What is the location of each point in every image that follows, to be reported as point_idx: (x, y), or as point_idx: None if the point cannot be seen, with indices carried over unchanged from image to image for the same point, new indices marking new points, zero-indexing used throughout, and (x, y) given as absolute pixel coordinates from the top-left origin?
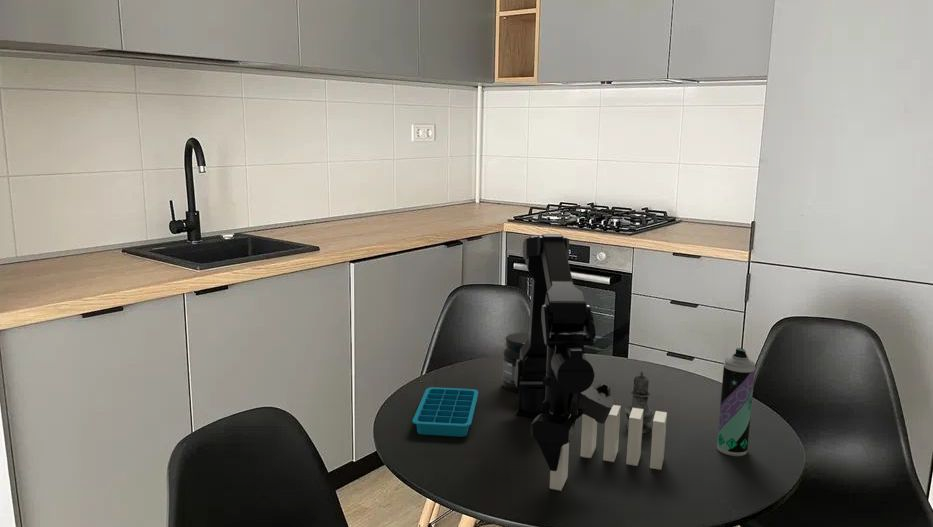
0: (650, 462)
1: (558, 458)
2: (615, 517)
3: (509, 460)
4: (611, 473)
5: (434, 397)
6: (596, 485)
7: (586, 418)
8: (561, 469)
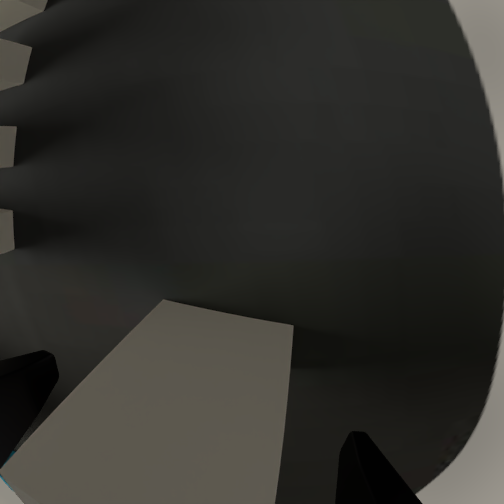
0: (31, 4)
1: (418, 501)
2: (473, 89)
3: None
4: (83, 113)
5: None
6: (200, 162)
7: None
8: (287, 396)
